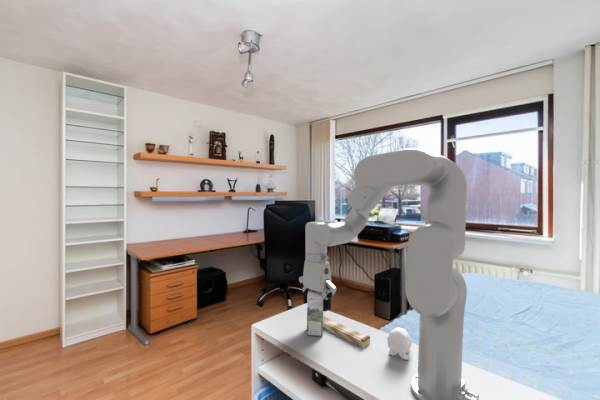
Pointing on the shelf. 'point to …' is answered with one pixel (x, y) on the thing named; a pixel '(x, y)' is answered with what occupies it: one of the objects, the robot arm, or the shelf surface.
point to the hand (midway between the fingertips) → (316, 306)
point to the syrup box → (314, 313)
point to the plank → (346, 332)
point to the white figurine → (399, 342)
